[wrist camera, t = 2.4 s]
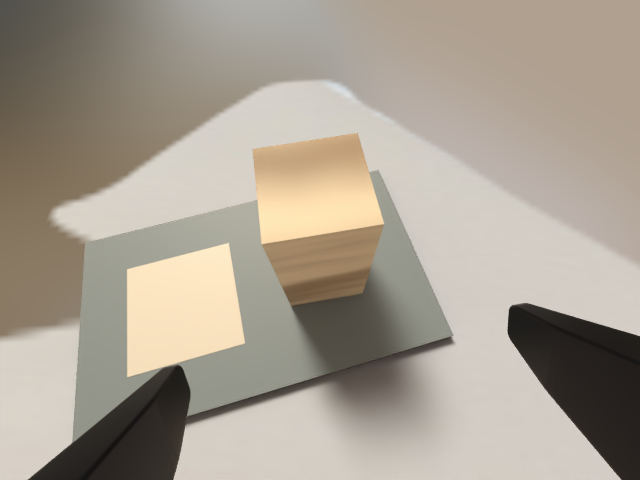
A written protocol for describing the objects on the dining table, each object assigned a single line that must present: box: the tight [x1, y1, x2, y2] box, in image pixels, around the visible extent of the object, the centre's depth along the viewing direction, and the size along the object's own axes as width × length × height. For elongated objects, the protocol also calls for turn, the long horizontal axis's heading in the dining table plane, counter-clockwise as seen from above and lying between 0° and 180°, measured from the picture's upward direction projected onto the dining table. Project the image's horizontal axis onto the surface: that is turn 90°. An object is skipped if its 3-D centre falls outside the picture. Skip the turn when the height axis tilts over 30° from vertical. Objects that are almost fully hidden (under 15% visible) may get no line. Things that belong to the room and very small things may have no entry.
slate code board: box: [72, 170, 453, 443], centre depth 23 cm, size 24×14×1 cm, turn 106°
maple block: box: [253, 133, 384, 306], centre depth 18 cm, size 5×5×10 cm
